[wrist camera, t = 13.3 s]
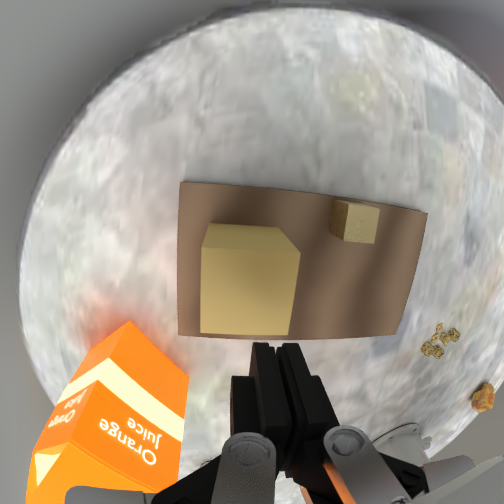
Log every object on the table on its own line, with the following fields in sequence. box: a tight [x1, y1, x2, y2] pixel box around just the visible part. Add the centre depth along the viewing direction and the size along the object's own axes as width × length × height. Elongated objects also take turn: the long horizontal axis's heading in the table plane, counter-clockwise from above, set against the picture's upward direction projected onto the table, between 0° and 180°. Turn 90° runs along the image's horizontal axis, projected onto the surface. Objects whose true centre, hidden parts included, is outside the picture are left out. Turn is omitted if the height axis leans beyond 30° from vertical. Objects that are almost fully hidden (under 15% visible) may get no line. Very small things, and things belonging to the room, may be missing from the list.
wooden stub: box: [329, 199, 380, 244], centre depth 19 cm, size 3×3×3 cm
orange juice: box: [26, 320, 189, 504], centre depth 15 cm, size 8×9×20 cm
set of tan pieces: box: [421, 323, 460, 359], centre depth 28 cm, size 5×5×2 cm
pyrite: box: [471, 384, 495, 413], centre depth 33 cm, size 5×7×4 cm
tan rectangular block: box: [200, 223, 301, 335], centre depth 18 cm, size 5×5×7 cm
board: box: [177, 182, 428, 340], centre depth 23 cm, size 22×13×1 cm, turn 84°
